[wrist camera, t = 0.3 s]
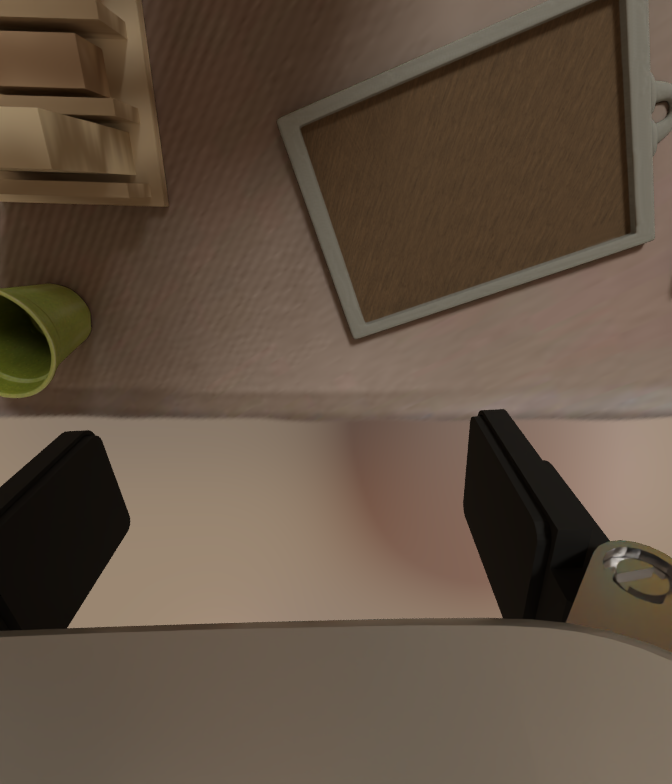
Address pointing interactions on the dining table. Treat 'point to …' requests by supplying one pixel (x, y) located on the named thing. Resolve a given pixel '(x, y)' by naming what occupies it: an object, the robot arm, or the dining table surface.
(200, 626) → the robot arm
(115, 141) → the maple block
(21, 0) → the offcut rack
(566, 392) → the dining table surface
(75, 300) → the plant pot
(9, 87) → the walnut offcut
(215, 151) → the dining table surface
